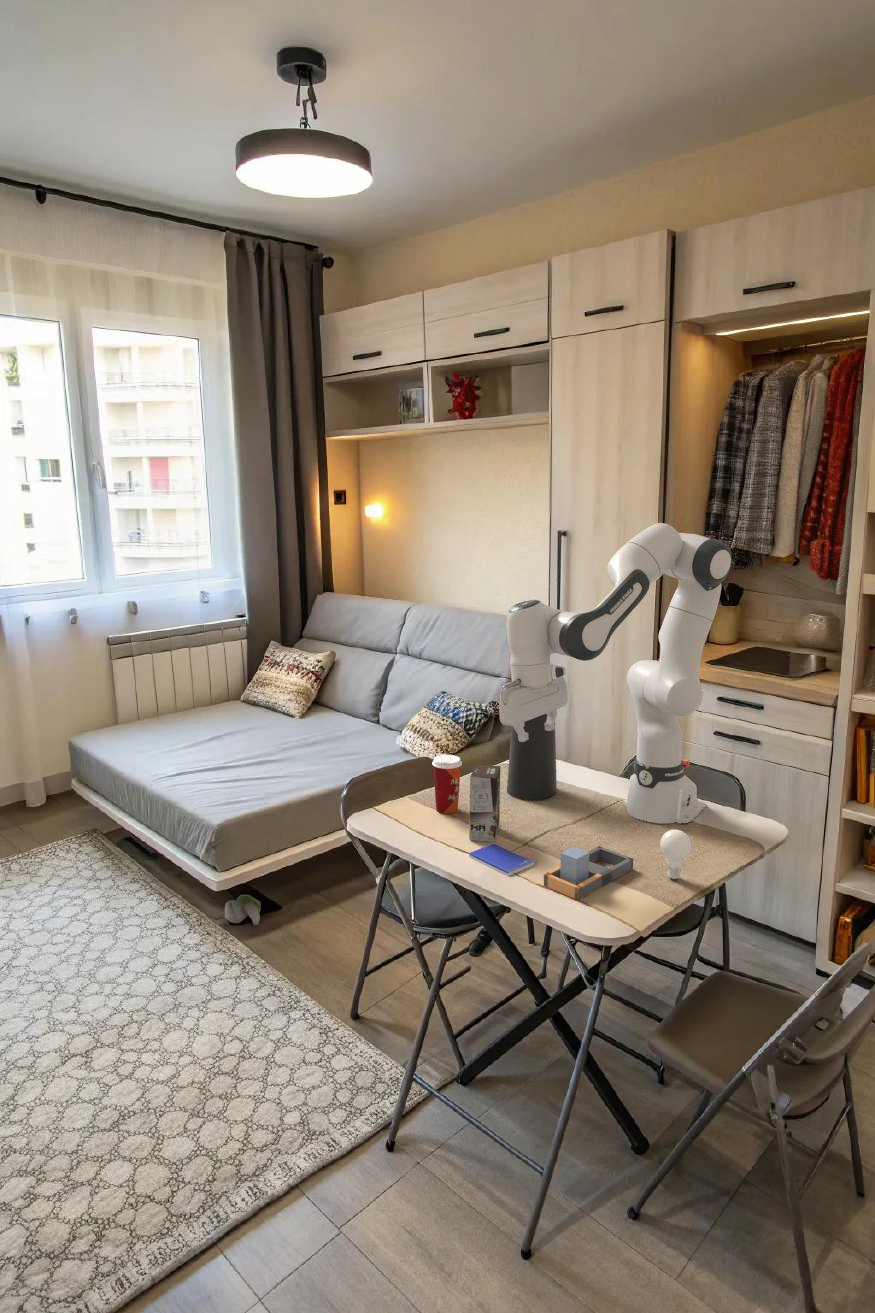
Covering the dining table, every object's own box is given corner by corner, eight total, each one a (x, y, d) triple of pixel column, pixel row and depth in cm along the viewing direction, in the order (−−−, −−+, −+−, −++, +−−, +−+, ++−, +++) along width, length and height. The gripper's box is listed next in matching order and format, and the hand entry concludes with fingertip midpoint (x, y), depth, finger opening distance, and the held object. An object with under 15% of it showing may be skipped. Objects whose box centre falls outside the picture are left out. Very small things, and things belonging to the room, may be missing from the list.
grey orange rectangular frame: (598, 856, 190) (599, 845, 189) (632, 869, 183) (633, 857, 183) (543, 885, 176) (544, 873, 175) (578, 900, 170) (578, 887, 169)
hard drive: (533, 860, 185) (494, 842, 194) (508, 871, 180) (469, 852, 189) (533, 867, 186) (494, 849, 195) (507, 878, 180) (469, 859, 190)
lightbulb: (693, 878, 179) (697, 830, 177) (680, 888, 175) (683, 839, 172) (666, 869, 183) (669, 822, 181) (652, 879, 179) (655, 831, 177)
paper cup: (459, 816, 212) (460, 764, 209) (429, 814, 213) (429, 762, 210) (463, 805, 220) (463, 754, 217) (434, 803, 221) (434, 753, 218)
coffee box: (495, 843, 197) (496, 778, 193) (468, 840, 198) (469, 776, 195) (500, 827, 205) (501, 765, 202) (474, 825, 207) (475, 763, 203)
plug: (572, 879, 179) (573, 846, 177) (587, 885, 176) (589, 852, 175) (559, 886, 176) (560, 853, 174) (575, 892, 173) (576, 859, 171)
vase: (564, 798, 225) (568, 694, 219) (517, 803, 221) (519, 697, 215) (545, 781, 237) (548, 682, 231) (500, 785, 234) (501, 685, 228)
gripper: (511, 685, 174) (518, 749, 176) (570, 666, 188) (575, 725, 190) (489, 684, 179) (495, 746, 181) (547, 665, 193) (553, 723, 195)
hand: (537, 735), depth 186 cm, fingers open, 8 cm apart
